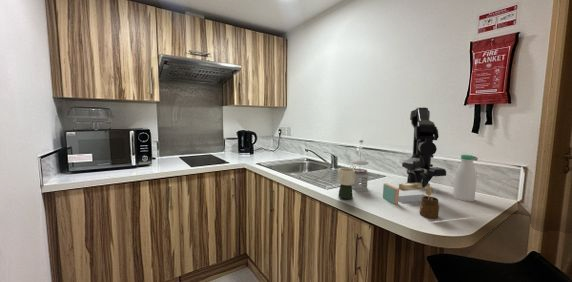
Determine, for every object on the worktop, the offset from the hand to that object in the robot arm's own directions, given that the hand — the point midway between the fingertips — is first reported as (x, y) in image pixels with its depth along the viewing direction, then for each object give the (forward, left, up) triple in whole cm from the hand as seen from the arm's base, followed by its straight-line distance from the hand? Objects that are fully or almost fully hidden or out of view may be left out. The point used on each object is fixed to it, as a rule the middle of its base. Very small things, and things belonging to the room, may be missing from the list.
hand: (421, 186), depth 103 cm
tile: (+16, 0, -6) cm, 17 cm away
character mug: (+33, -8, -6) cm, 34 cm away
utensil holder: (+12, +16, -6) cm, 21 cm away
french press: (+21, -18, -6) cm, 28 cm away
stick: (+4, 0, -1) cm, 4 cm away
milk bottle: (-19, +4, -6) cm, 21 cm away
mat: (+4, 0, -6) cm, 7 cm away
